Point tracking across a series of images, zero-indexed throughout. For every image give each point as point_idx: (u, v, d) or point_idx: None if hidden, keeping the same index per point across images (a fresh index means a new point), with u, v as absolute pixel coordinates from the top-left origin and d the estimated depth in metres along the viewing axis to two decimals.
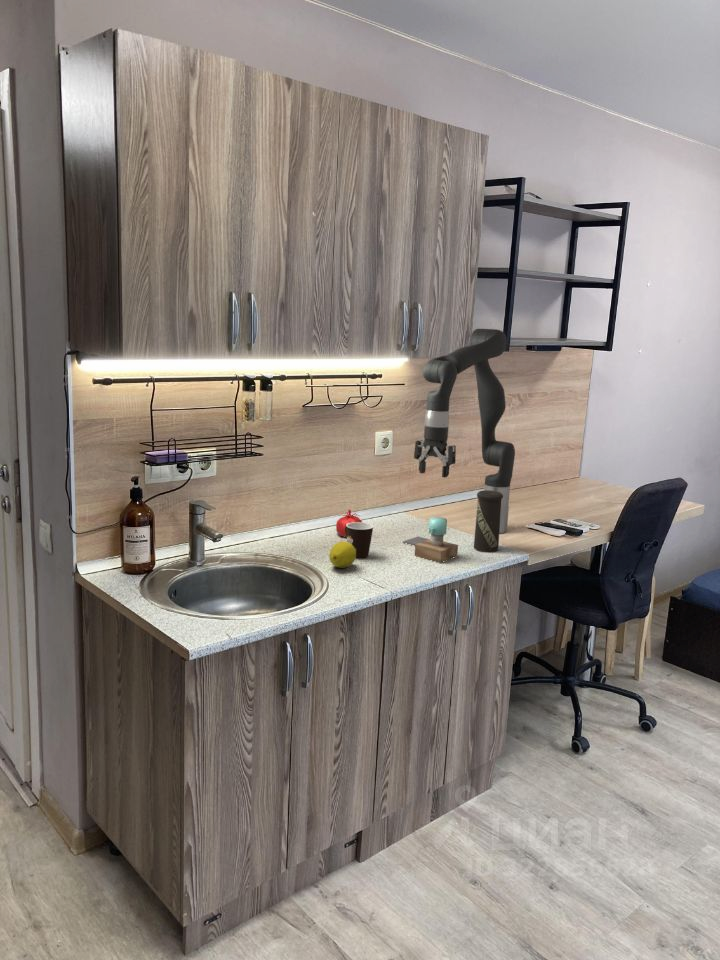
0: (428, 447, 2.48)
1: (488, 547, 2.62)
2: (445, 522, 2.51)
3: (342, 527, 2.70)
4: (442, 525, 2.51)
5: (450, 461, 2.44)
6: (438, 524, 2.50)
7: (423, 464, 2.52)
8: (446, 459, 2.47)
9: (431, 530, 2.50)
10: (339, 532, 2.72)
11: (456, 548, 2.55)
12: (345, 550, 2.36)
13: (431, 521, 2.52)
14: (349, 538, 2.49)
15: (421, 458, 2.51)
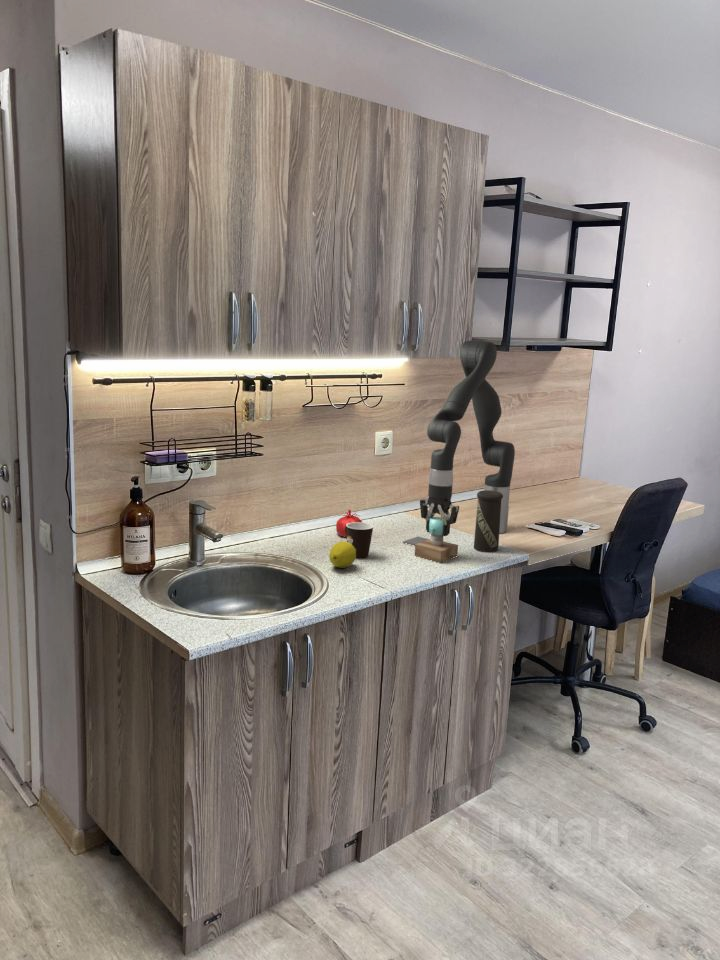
0: (432, 505, 2.51)
1: (488, 547, 2.62)
2: None
3: (342, 527, 2.70)
4: (442, 525, 2.51)
5: (451, 521, 2.49)
6: (438, 524, 2.50)
7: None
8: (448, 518, 2.51)
9: (431, 530, 2.50)
10: (339, 532, 2.72)
11: (456, 548, 2.55)
12: (345, 550, 2.36)
13: (431, 521, 2.52)
14: (349, 538, 2.49)
15: (428, 517, 2.54)
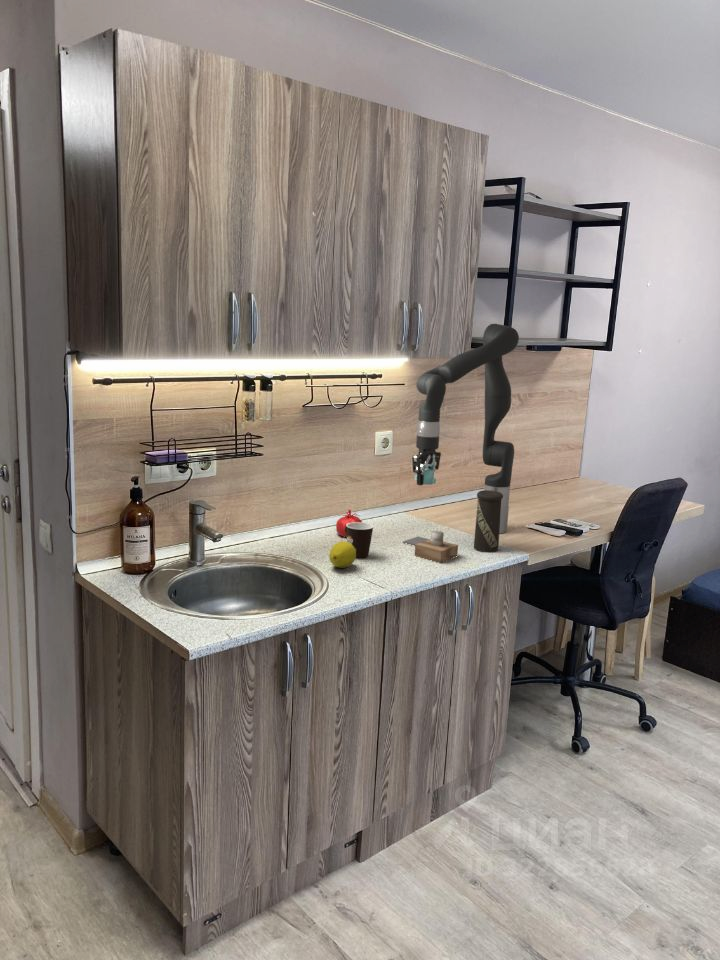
0: None
1: (488, 547, 2.62)
2: None
3: (342, 527, 2.70)
4: None
5: None
6: None
7: None
8: None
9: None
10: (339, 532, 2.72)
11: (456, 548, 2.55)
12: (345, 550, 2.36)
13: None
14: (349, 538, 2.49)
15: None
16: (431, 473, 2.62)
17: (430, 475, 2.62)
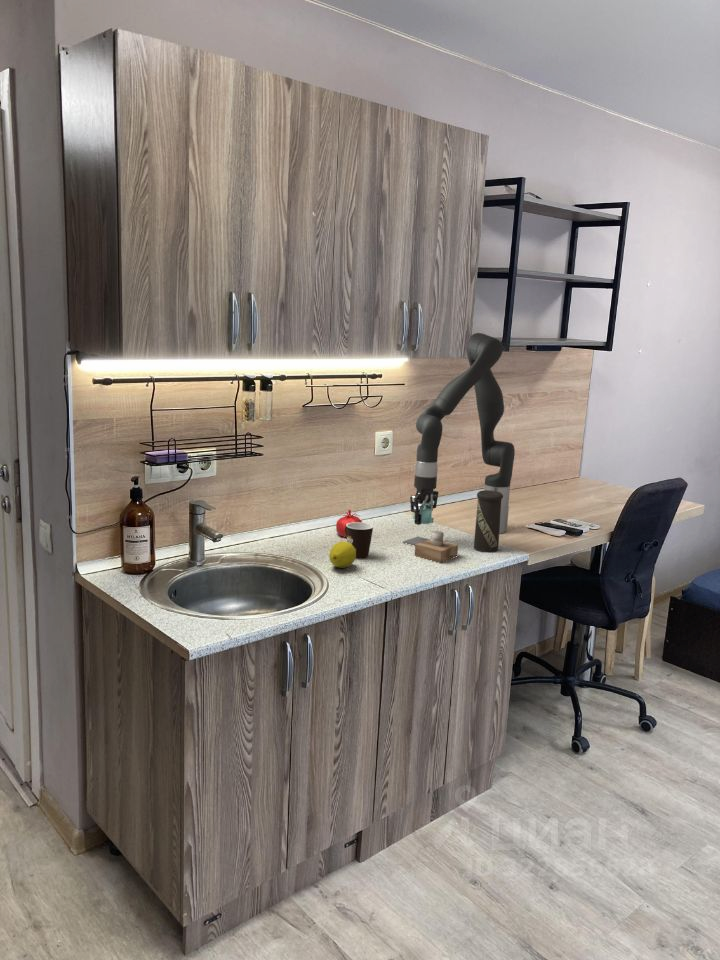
0: None
1: (488, 547, 2.62)
2: None
3: (342, 527, 2.70)
4: None
5: None
6: None
7: None
8: None
9: None
10: (339, 532, 2.72)
11: (456, 548, 2.55)
12: (345, 550, 2.36)
13: None
14: (349, 538, 2.49)
15: None
16: (429, 512, 2.65)
17: (427, 514, 2.65)
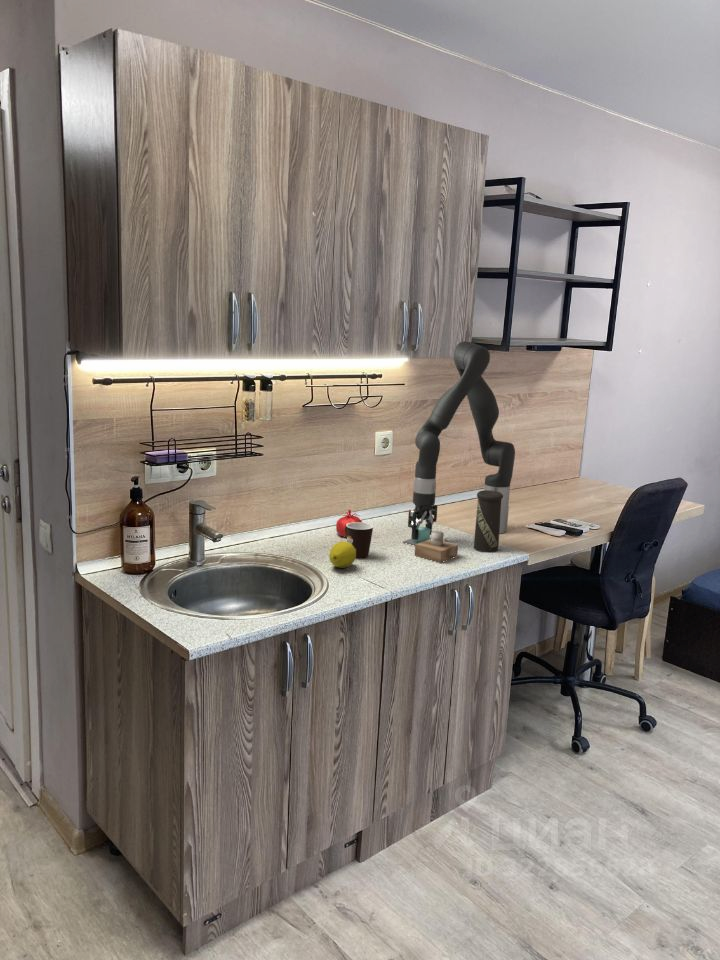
0: None
1: (488, 547, 2.62)
2: None
3: (342, 527, 2.70)
4: None
5: None
6: None
7: (427, 526, 2.72)
8: None
9: None
10: (339, 532, 2.72)
11: (456, 548, 2.55)
12: (345, 550, 2.36)
13: None
14: (349, 538, 2.49)
15: None
16: (427, 533, 2.67)
17: (426, 534, 2.67)
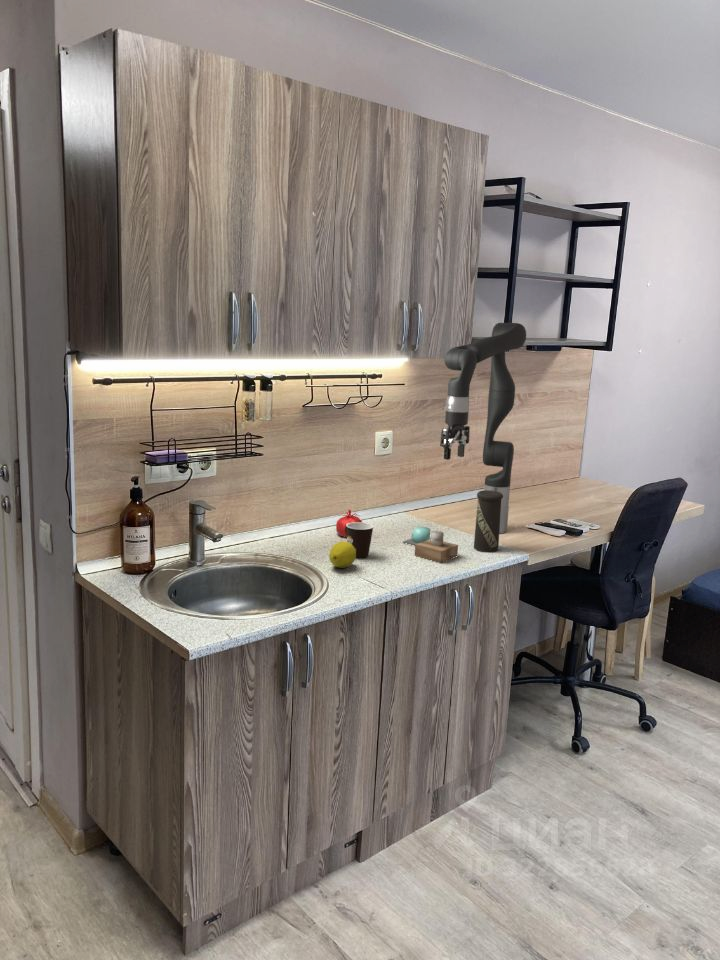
0: None
1: (488, 547, 2.62)
2: (417, 531, 2.67)
3: (342, 527, 2.70)
4: (414, 533, 2.68)
5: None
6: None
7: (460, 448, 2.66)
8: None
9: None
10: (339, 532, 2.72)
11: (456, 548, 2.55)
12: (345, 550, 2.36)
13: None
14: (349, 538, 2.49)
15: None
16: (427, 533, 2.67)
17: (426, 534, 2.66)
